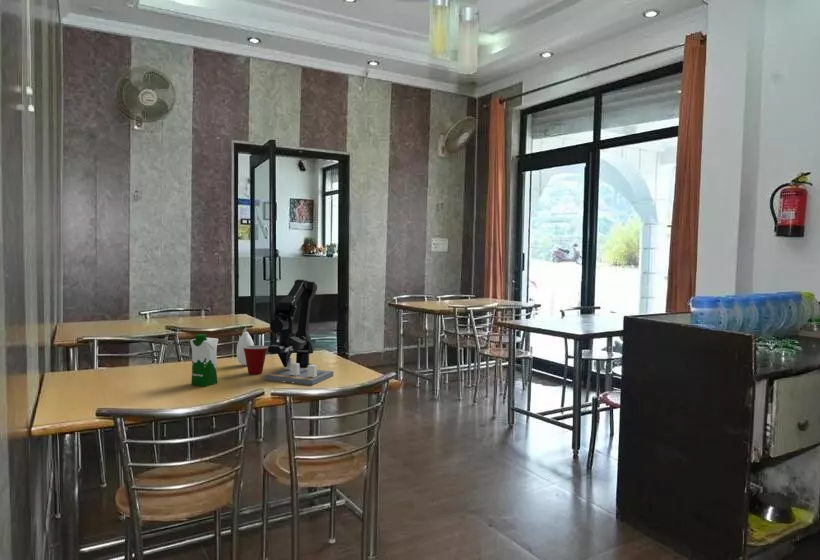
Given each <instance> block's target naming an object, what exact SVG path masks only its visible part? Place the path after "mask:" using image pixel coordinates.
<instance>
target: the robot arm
mask: <svg viewBox="0 0 820 560" xmlns="http://www.w3.org/2000/svg"><path fill="white" fill-rule="evenodd" d="M317 291H318V284H316V283H315V281H310V280H307V279H295V280H294V284H293V285H292V288H291V289H290V291H289V292H288V294H287V295H286V296H285V297H283V298H281V299H280V300H279V301H278V303H277V305H276V308H275V311H274V312H273V313H274V315H273V318H274V319H273V320H272V321H271V322H270V324H269V329H270V330H271V332H272V333H273V334H274V333H275V334H276V335H277V336H278V342H276V344H272V345H268V349H267V353H269V354H270V353H271V354H277V357H279V359H280V361H281V363H282V366H283V368H285V367H287V364H288V361H289V358H291V356H292V354H296V355H295V363H300V368H308V365H313V363H310V355H311V354H314V346H313V343H312V341H311V340H312V339H311V335H310V332H309V324H310V315H311V314H310V313H311V305H312V301H313V299H314V298H315V296H316V293H317ZM299 300H300V304H299V314H298V324H297V330H296V332H294V320H295V315H296V312H297V309H298V307H297V303H298V301H299Z"/></svg>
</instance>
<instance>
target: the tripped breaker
mask: <svg viewBox="0 0 820 560" xmlns="http://www.w3.org/2000/svg"><path fill="white" fill-rule="evenodd" d="M291 363H294V357H290V358H289V361H288V364H287V367H283V369H286V370H291Z"/></svg>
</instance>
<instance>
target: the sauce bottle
mask: <svg viewBox="0 0 820 560" xmlns="http://www.w3.org/2000/svg"><path fill="white" fill-rule="evenodd" d="M254 344H255V343H254V340H253V339H252V336H251V335H250V333H249V332H248V331H247V326H245V329H244V331H243V332H242V335H241V336H240V337H239V340H238V341H237V346H236V358H237V360H238V363H239V364H241V366H244V365H245V366H244V367H247V366H246V365H247V364H246V357H245V352H244V349H243V346H252V345H254Z"/></svg>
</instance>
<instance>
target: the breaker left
mask: <svg viewBox="0 0 820 560" xmlns="http://www.w3.org/2000/svg"><path fill="white" fill-rule="evenodd" d="M317 366H318V365H316V364H312V365H308V367H307V369H308V375H307V377H313V378H314V377H316V376H317V370H318V367H317Z"/></svg>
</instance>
